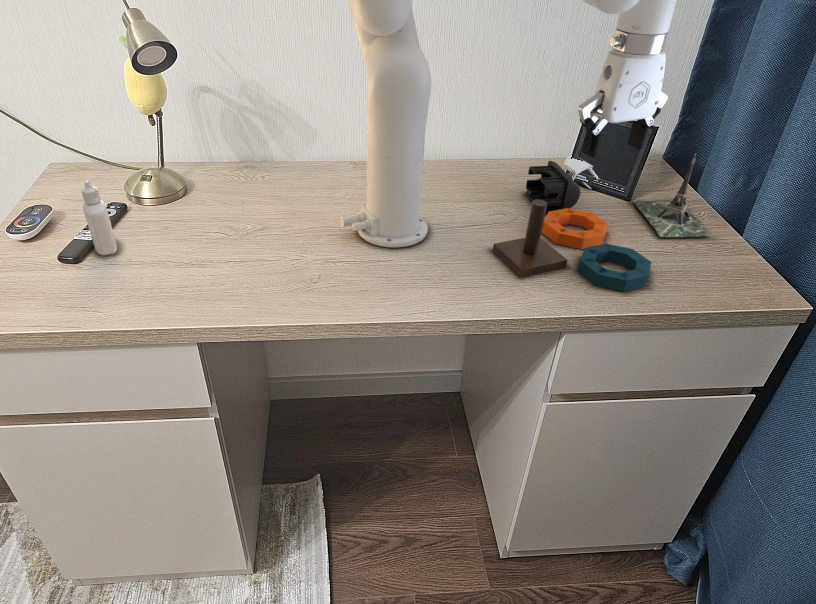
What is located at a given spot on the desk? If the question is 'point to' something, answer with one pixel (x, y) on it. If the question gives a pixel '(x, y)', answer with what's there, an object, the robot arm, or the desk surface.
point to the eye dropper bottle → (98, 221)
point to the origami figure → (578, 167)
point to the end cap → (552, 187)
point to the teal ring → (609, 277)
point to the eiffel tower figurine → (673, 214)
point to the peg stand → (531, 247)
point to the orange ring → (571, 237)
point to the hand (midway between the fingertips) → (612, 150)
